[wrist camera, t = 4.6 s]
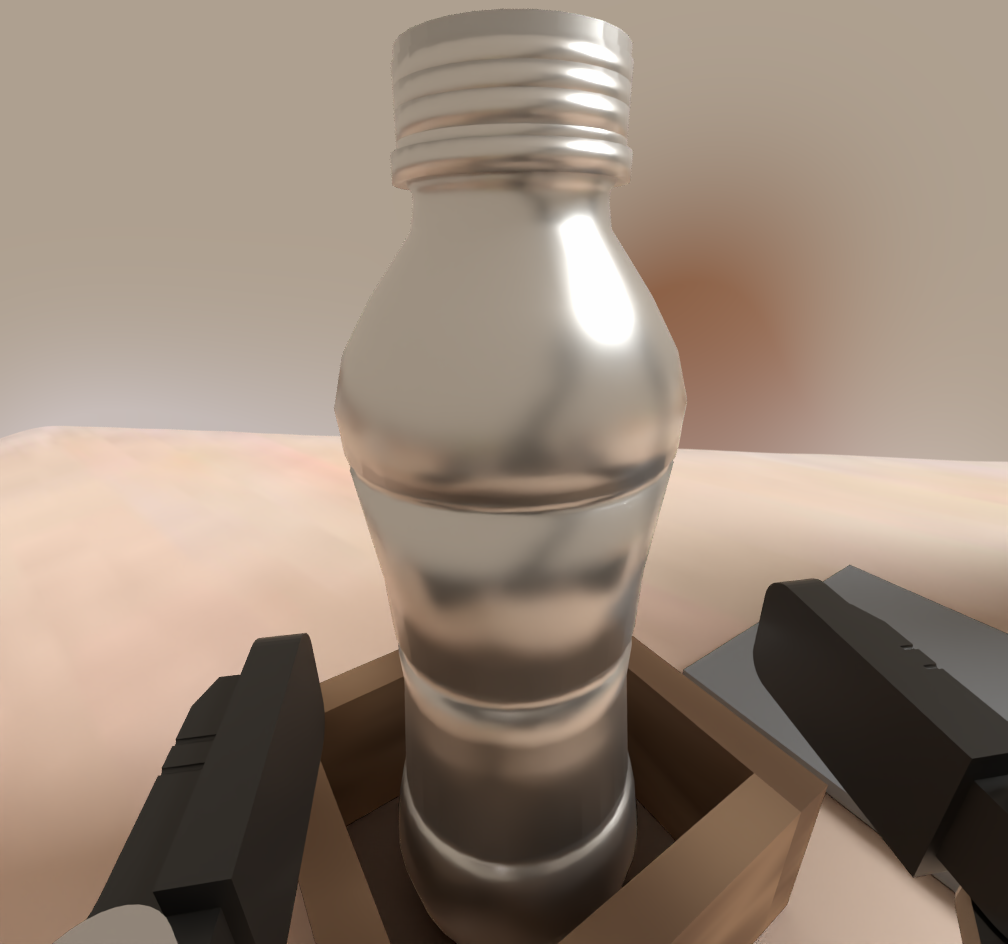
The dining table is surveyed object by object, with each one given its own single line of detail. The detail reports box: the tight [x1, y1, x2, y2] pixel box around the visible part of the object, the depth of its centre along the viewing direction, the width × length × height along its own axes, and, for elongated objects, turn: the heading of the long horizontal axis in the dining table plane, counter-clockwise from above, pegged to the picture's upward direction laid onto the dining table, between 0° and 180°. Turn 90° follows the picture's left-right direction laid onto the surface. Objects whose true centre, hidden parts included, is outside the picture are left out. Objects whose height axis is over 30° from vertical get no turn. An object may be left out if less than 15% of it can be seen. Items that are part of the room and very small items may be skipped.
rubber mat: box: [683, 565, 1008, 893], centre depth 21 cm, size 14×12×1 cm
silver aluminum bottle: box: [334, 9, 687, 944], centre depth 12 cm, size 6×7×20 cm
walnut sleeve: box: [298, 636, 828, 944], centre depth 15 cm, size 11×10×5 cm
